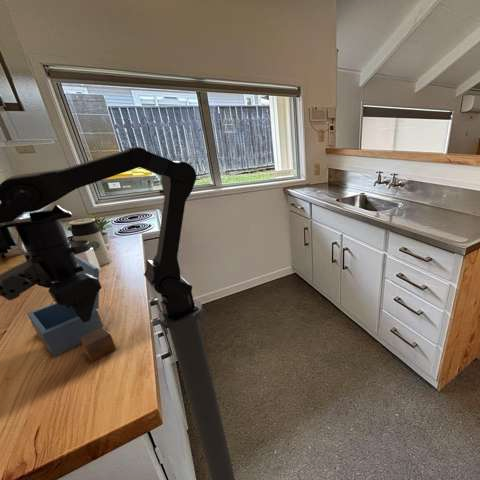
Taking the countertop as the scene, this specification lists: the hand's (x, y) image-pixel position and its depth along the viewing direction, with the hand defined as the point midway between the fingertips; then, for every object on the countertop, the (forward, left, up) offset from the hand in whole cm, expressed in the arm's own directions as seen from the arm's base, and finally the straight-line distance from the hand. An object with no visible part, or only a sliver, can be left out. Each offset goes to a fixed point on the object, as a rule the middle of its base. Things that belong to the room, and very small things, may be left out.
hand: (78, 313), depth 53 cm
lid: (-5, -15, +1) cm, 15 cm away
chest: (+1, -15, -11) cm, 18 cm away
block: (-1, -1, -11) cm, 11 cm away
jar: (-13, -52, -11) cm, 54 cm away
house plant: (-27, -78, -11) cm, 83 cm away
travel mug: (-19, -59, -11) cm, 63 cm away
